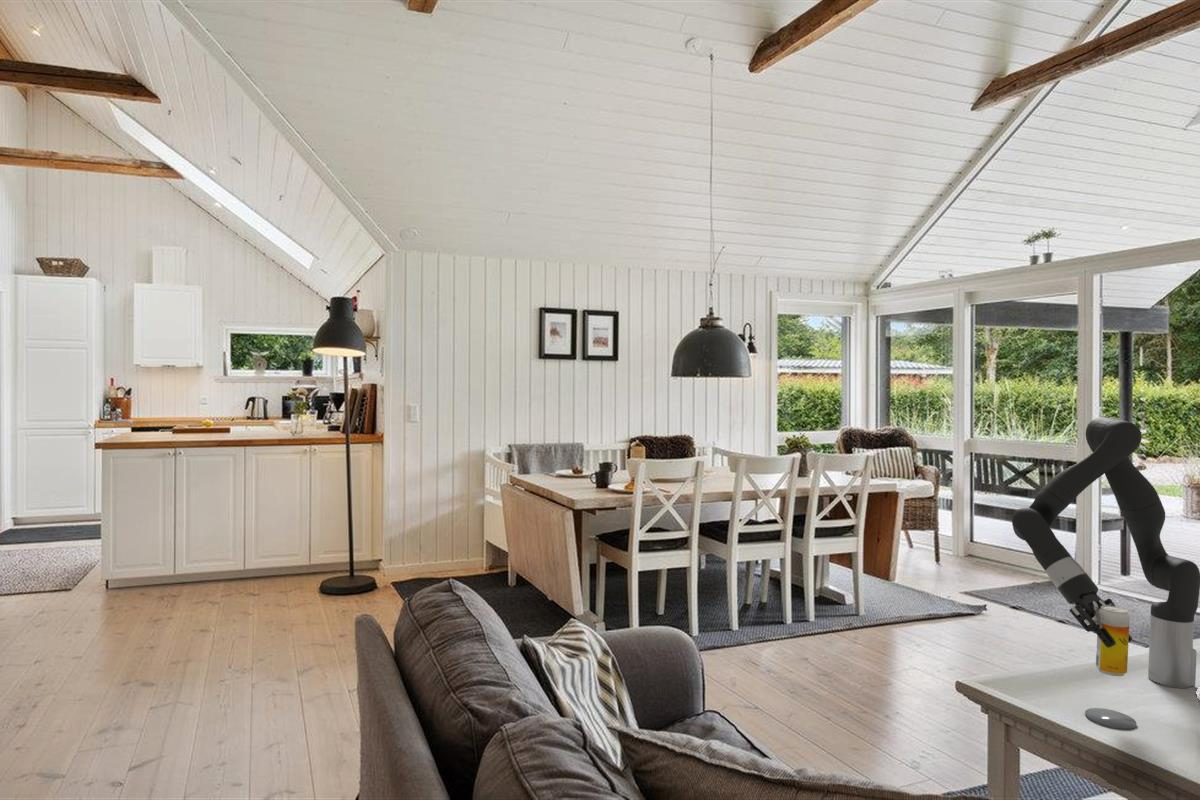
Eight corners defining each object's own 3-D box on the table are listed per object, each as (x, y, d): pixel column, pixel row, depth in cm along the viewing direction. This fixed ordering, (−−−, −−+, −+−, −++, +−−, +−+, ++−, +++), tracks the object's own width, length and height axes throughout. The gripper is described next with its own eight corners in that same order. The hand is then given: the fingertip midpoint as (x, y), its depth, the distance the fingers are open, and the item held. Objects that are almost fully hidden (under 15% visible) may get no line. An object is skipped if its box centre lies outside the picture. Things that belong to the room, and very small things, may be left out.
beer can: (1131, 678, 174) (1135, 613, 174) (1102, 675, 175) (1105, 611, 175) (1119, 668, 180) (1122, 606, 180) (1091, 665, 181) (1094, 603, 181)
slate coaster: (1118, 711, 183) (1118, 708, 183) (1146, 730, 173) (1146, 727, 173) (1075, 709, 183) (1075, 707, 183) (1101, 728, 173) (1101, 726, 173)
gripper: (1064, 575, 180) (1115, 640, 170) (1100, 569, 187) (1151, 632, 177) (1041, 591, 185) (1089, 656, 175) (1077, 585, 192) (1125, 647, 182)
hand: (1120, 643), depth 176 cm, fingers closed on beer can, 6 cm apart
